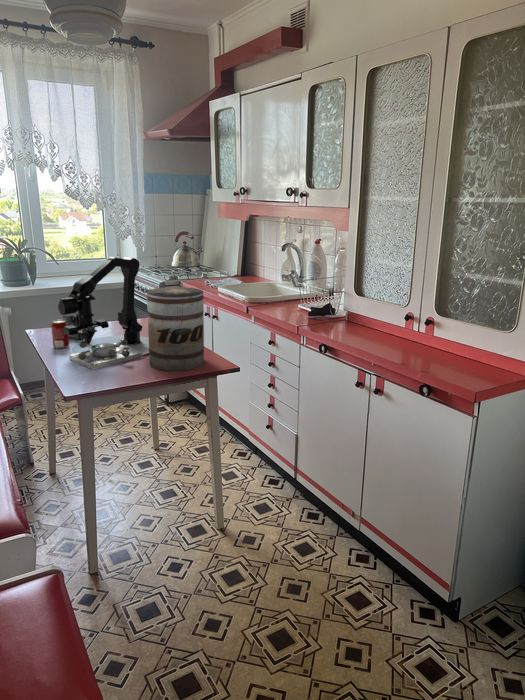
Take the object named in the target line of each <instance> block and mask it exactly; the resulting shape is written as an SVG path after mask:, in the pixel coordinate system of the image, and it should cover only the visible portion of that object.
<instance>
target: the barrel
mask: <svg viewBox="0 0 525 700" xmlns="http://www.w3.org/2000/svg"><path fill="white" fill-rule="evenodd" d="M146 305H147V306H146V307H147V308H146V309H147V329H148V352H149V353H148V354H149V356H148V357H149V366H150V367H151V368H153V369H155V370H158V371H163V372H173V373H174V372H175V373H176V372H181V373H182V372H188V371H187V370H189V371H192V369H193V370H196V369H199V368H200V366H201V367H202V366H203V365H204V364H205V344H204V343H205V341H204V340H205V331H204V329H205V328H204V327H205V325H204V323H205V322H204V321H205V319H204V311H205V309H204V305H205V304H204V291H203V290H202V289H199V288H195V287H187V286H186V287H185V286H164V287H157V288H152V289H149V290H147V291H146ZM198 367H199V368H198ZM195 368H196V369H195Z"/></svg>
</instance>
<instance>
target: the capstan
mask: <svg viewBox="0 0 525 700" xmlns="http://www.w3.org/2000/svg"><path fill="white" fill-rule="evenodd" d="M78 345H79V347H80V348H81V349H85V348H89V349H90V350H92V351H91V352H88V353H80V352H79V353H80V354H79V355H78V357H79V359H80V360H84V359H85V358H86V357H87V356H90V355H93V356H95V357H109V356H113V355H115V354H116V353H117V354H122V355H123V356H124V357H128V356H129V354H130V353H129V351H128V350H124V351H120V350H116V346H119V345H123V346H126V345H128V344H127V340H126V339H124V338H122V339H120V341H119V342H116V343H115V342H114V343H108V342H107V343H104V342H103V343H98V344H91V343H90V344H87V343H86V342H85V341H84V340H82V341H81V340H80V342H79V344H78Z"/></svg>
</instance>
